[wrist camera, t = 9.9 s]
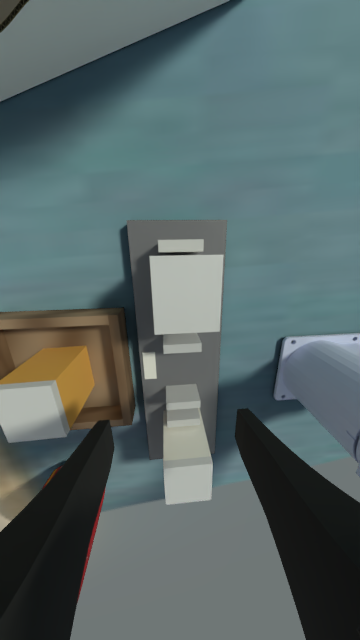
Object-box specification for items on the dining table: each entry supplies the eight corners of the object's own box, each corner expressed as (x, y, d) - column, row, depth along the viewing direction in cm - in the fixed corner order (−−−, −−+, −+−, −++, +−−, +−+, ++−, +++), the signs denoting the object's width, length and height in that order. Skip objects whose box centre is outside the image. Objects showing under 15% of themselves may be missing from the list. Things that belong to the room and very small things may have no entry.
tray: (123, 307, 18) (117, 315, 15) (135, 406, 21) (131, 425, 19) (-8, 312, 17) (-36, 321, 14) (27, 414, 20) (9, 435, 18)
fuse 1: (202, 256, 16) (223, 254, 10) (201, 307, 17) (219, 331, 12) (154, 257, 16) (149, 255, 10) (157, 309, 17) (154, 334, 11)
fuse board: (223, 222, 16) (238, 212, 13) (212, 445, 24) (220, 475, 21) (128, 222, 15) (119, 212, 12) (150, 451, 24) (148, 483, 20)
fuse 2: (199, 407, 21) (212, 463, 15) (198, 438, 22) (211, 499, 17) (163, 410, 21) (163, 468, 15) (165, 441, 22) (165, 504, 16)
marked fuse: (86, 345, 18) (50, 385, 12) (94, 384, 19) (66, 436, 14) (42, 348, 18) (-15, 390, 12) (54, 388, 19) (8, 442, 13)
